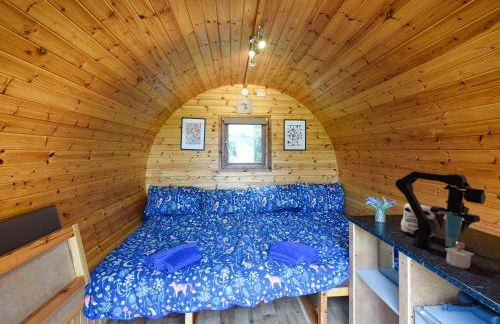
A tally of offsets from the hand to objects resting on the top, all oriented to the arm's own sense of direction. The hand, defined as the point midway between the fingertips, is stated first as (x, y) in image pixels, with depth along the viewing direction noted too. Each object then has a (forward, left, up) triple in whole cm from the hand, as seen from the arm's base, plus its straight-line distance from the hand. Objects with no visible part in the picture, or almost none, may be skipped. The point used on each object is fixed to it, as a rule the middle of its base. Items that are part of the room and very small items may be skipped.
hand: (451, 230), depth 120 cm
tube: (-8, +16, -13) cm, 22 cm away
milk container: (-27, +16, -13) cm, 34 cm away
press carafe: (+7, -5, -13) cm, 16 cm away
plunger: (+7, -6, -12) cm, 15 cm away
